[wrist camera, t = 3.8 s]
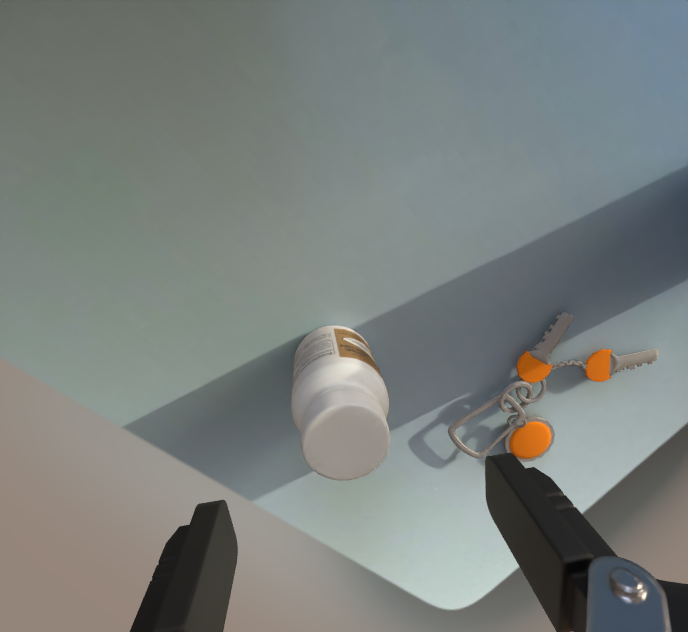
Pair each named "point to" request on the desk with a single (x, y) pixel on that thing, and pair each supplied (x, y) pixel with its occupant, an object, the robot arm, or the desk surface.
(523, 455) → the key chain
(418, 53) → the desk surface
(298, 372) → the pill bottle
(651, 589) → the robot arm
